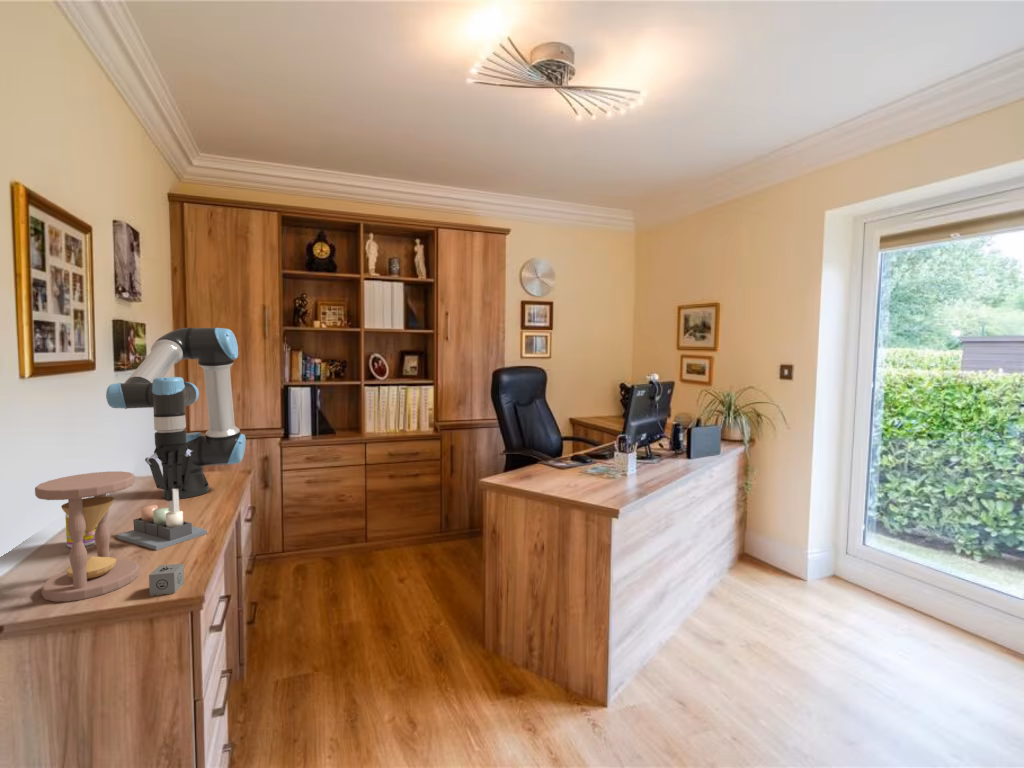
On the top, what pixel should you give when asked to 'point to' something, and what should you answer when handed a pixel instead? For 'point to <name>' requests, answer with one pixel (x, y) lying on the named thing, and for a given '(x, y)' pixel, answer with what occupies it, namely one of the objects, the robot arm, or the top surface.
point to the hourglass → (85, 515)
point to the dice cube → (166, 579)
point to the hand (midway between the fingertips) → (173, 510)
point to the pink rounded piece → (148, 512)
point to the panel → (160, 534)
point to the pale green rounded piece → (160, 516)
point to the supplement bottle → (86, 539)
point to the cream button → (174, 519)
